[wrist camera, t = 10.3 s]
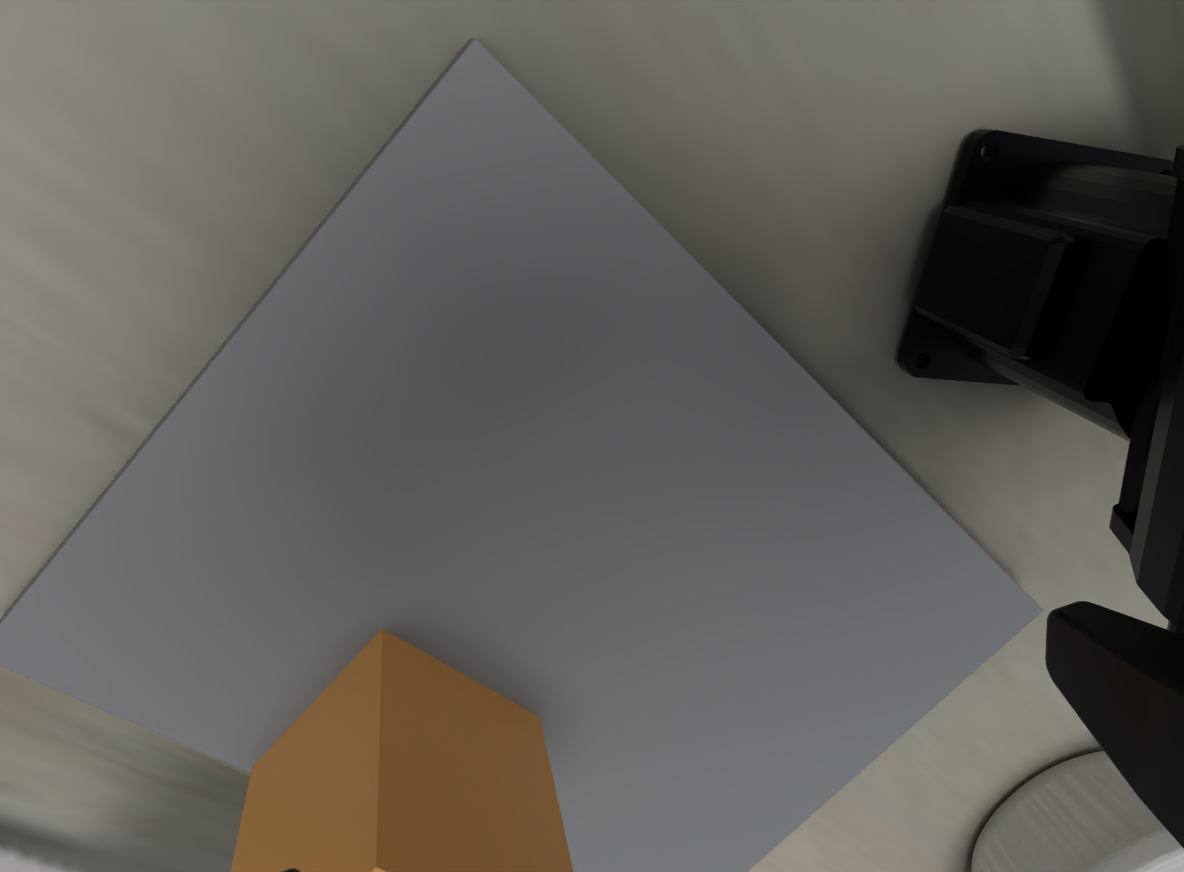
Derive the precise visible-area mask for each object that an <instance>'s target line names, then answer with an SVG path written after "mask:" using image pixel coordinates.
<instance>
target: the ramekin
mask: <svg viewBox="0 0 1184 872" xmlns="http://www.w3.org/2000/svg"><path fill="white" fill-rule="evenodd" d="M971 872H1184V848H1183V847H1182V846H1181V845H1180V844H1179V843H1178V842H1177V841H1176V839H1175V838H1174V837H1173V836H1172V835H1171V834H1170V833H1169V832H1168V830H1167V829H1166V828H1165V827H1164V826H1163V825H1162V824H1161V823H1160V821H1159V820H1158V819H1157V818H1156V817H1155V816H1154V815H1153V813H1152V812H1151V811H1150V810H1149V809H1148V808H1147V806H1146V805H1145V804H1144V803H1143V802H1142V800H1141V799H1140V798H1139V797H1138V796H1137V794H1136V793H1135V792H1134V791H1133V789H1132V788H1131V787H1130V785H1129V784H1128V783H1127V782H1126V780H1125V779H1124V778H1123V776H1122V775H1121V774H1120V772H1119V771H1118V769H1117V768H1116V767H1115V765H1114V764H1113V763H1112V761H1111V760H1110V759H1109V757H1108V756H1107V754H1106V753H1105V752H1104V751H1100V752H1094V753H1090V754H1086V755H1082V756H1078V757H1076V758H1073V759H1070V760H1067V761H1064V762H1062V763H1060V764H1057V765H1055V766H1053V767H1051V768H1049V769H1047V770H1045V771H1043V772H1042V773H1040V774H1038V775H1037V776H1035V777H1034V778H1032V779H1031V780H1029V781H1028V782H1026V783H1025V784H1024V785H1022V786H1021V787H1020V788H1018V789H1017V790H1016V791H1015V792H1014V793H1013V794H1011V795H1010V796H1009V797H1008V798H1007V799H1006V800H1005V801H1004V802H1003V803H1002V804H1001V805H1000V806H999V807H998V808H997V810H996V811H995V812H994V813H993V815H992V816H991V817H990V819H989V820H988V821H987V823H986V824H985V826H984V828H983V830H982V831H981V833H980V835H979V837H978V839H977V842H976V845H975V847H974V851H973V855H972V870H971Z"/></svg>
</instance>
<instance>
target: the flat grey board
mask: <svg viewBox="0 0 1184 872" xmlns="http://www.w3.org/2000/svg"><path fill="white" fill-rule="evenodd" d="M1042 611H1043V609H1042V608H1041V607H1040V606H1039V605H1038V604H1037V603H1036V602H1035V601H1034V600H1033V599H1032V598H1031V597H1030V596H1029V595H1028V594H1027V593H1026V592H1025V591H1024V590H1023V589H1022V588H1021V587H1020V586H1019V585H1018V584H1017V583H1016V582H1015V581H1014V580H1013V579H1012V578H1011V577H1010V576H1009V575H1008V574H1007V573H1006V572H1005V571H1004V570H1003V569H1002V568H1001V567H1000V566H999V565H998V564H997V563H996V562H995V561H994V560H993V559H992V558H991V557H990V556H989V555H988V554H987V553H986V552H985V551H984V550H983V549H982V548H981V547H980V546H979V545H978V544H977V543H976V542H975V541H974V540H973V539H972V538H971V537H970V536H969V535H968V534H967V533H966V532H965V531H964V530H963V529H962V528H961V527H960V526H959V525H958V524H957V523H956V522H955V521H954V520H953V519H952V518H951V517H950V516H949V515H948V514H947V513H946V512H945V511H944V510H943V509H942V508H941V507H940V506H939V505H938V504H937V503H936V502H935V501H934V500H933V499H932V498H931V497H930V496H929V495H928V494H927V492H926V491H925V490H924V489H923V488H922V487H921V486H920V485H919V484H918V483H917V482H916V481H915V480H914V479H913V478H912V477H911V476H910V475H909V474H908V473H907V472H906V471H905V470H904V469H903V468H902V467H901V466H900V465H899V464H898V463H897V462H896V461H895V460H894V459H893V458H892V457H891V456H890V455H889V454H888V453H887V452H886V451H885V450H884V449H883V448H882V447H881V446H880V445H879V444H878V443H877V442H876V441H875V440H874V439H873V438H872V437H871V436H870V435H869V434H868V433H867V432H866V431H865V430H864V429H863V428H862V427H861V426H860V425H859V424H858V423H857V422H856V421H855V420H854V419H853V418H852V417H851V416H850V415H849V414H848V413H847V412H846V411H845V410H844V409H843V408H842V407H841V406H840V405H839V404H838V403H837V402H836V401H835V400H834V399H833V398H832V397H831V396H830V395H829V394H828V393H827V392H826V391H825V390H824V389H823V388H822V387H821V386H820V385H819V384H818V383H817V382H816V381H815V380H814V379H813V378H812V377H811V375H810V374H809V373H808V372H807V371H806V370H805V369H804V368H803V367H802V366H801V365H800V364H799V363H798V362H797V361H796V360H795V359H794V358H793V357H792V356H791V355H790V354H789V353H788V352H787V351H786V350H785V349H784V348H783V347H782V346H781V345H780V344H779V343H778V342H777V341H776V340H775V339H774V338H773V337H772V336H771V335H770V334H769V333H768V332H767V331H766V330H765V329H764V328H763V327H762V326H761V325H760V324H759V323H758V322H757V321H756V320H755V319H754V318H753V317H752V316H751V315H750V314H749V313H748V312H747V311H746V310H745V309H744V308H743V307H742V306H741V305H740V304H739V303H738V302H737V301H736V300H735V299H734V298H733V297H732V296H731V295H730V294H729V293H728V292H727V291H726V290H725V289H724V288H723V287H722V286H721V285H720V284H719V283H718V282H717V281H716V280H715V279H714V278H713V277H712V276H711V275H710V274H709V273H708V272H707V271H706V270H705V269H704V268H703V267H702V266H701V265H700V264H699V263H698V262H697V261H696V260H695V259H694V257H693V256H692V255H691V254H690V253H689V252H688V251H687V250H686V249H685V248H684V247H683V246H682V245H681V244H680V243H679V242H678V241H677V240H676V239H675V238H674V237H673V236H672V235H671V234H670V233H669V232H668V231H667V230H666V229H665V228H664V227H663V226H662V225H661V224H660V223H659V222H658V221H657V220H656V219H655V218H654V217H653V216H652V215H651V214H650V213H649V212H648V211H647V210H646V209H645V208H644V207H643V206H642V205H641V204H640V203H639V202H638V201H637V200H636V199H635V198H634V197H633V196H632V195H631V194H630V193H629V192H628V191H627V190H626V189H625V188H624V187H623V186H622V185H621V184H620V183H619V182H618V181H617V180H616V179H615V178H614V177H613V176H612V175H611V174H610V173H609V172H608V171H607V170H606V169H605V168H604V167H603V166H602V165H601V164H600V163H599V162H598V161H597V160H596V159H595V158H594V157H593V156H592V155H591V154H590V153H589V152H588V151H587V150H586V149H585V148H584V147H583V146H582V145H581V144H580V143H579V142H578V140H577V139H576V138H575V137H574V136H573V135H572V134H571V133H570V132H569V131H568V130H567V129H566V128H565V127H564V126H563V125H562V124H561V123H560V122H559V121H558V120H557V119H556V118H555V117H554V116H553V115H552V114H551V113H550V112H549V111H548V110H547V109H546V108H545V107H544V106H543V105H542V104H541V103H540V102H539V101H538V100H537V99H536V98H535V97H534V96H533V95H532V94H531V93H530V92H529V91H528V90H527V89H526V88H525V87H524V86H523V85H522V84H521V83H520V82H519V81H518V80H517V79H516V78H515V77H514V76H513V75H512V74H511V73H510V72H509V71H508V70H507V69H506V68H505V67H504V66H503V65H502V64H501V63H500V62H499V61H498V60H497V59H496V58H495V57H494V56H493V55H492V54H491V53H490V52H489V51H488V50H487V49H486V48H485V47H484V46H483V45H482V44H481V43H480V42H479V41H478V40H477V39H476V38H473V39H470V40H469V41H468V42H467V43H466V44H465V46H464V47H463V48H462V49H461V51H460V52H459V53H458V54H457V56H456V57H455V58H454V59H453V61H452V62H451V63H450V64H449V65H448V67H447V68H446V69H445V70H444V72H443V73H442V74H441V75H440V77H439V78H438V79H437V80H436V82H435V83H434V84H433V85H432V86H431V88H430V89H429V90H428V91H427V93H426V94H425V95H424V96H423V98H422V99H421V100H420V101H419V103H418V104H417V105H416V106H415V107H414V109H413V110H412V111H411V112H410V114H409V115H408V116H407V117H406V119H405V120H404V121H403V122H402V124H401V125H400V126H399V127H398V128H397V130H396V131H395V132H394V133H393V135H392V136H391V137H390V138H389V140H388V141H387V142H386V143H385V145H384V146H383V147H382V148H381V149H380V151H379V152H378V153H377V154H376V156H375V157H374V158H373V159H372V161H371V162H370V163H369V164H368V166H367V167H366V168H365V169H364V170H363V172H362V173H361V174H360V175H359V177H358V178H357V179H356V180H355V182H354V183H353V184H352V185H351V187H350V188H349V189H348V190H347V191H346V193H345V194H344V195H343V196H342V198H341V199H340V200H339V201H338V203H337V204H336V205H335V206H334V208H333V209H332V210H331V211H330V212H329V214H328V215H327V216H326V217H325V219H324V220H323V221H322V222H321V224H320V225H319V226H318V227H317V229H316V230H315V231H314V232H313V233H312V235H311V236H310V237H309V238H308V240H307V241H306V242H305V243H304V245H303V246H302V247H301V248H300V250H299V251H298V252H297V253H296V255H295V256H294V257H293V258H292V259H291V261H290V262H289V263H288V264H287V266H286V267H285V268H284V269H283V271H282V272H281V273H280V274H279V276H278V277H277V278H276V279H275V280H274V282H273V283H272V284H271V285H270V287H269V288H268V289H267V290H266V292H265V293H264V294H263V295H262V297H261V298H260V299H259V300H258V301H257V303H256V304H255V305H254V306H253V308H252V309H251V310H250V311H249V313H248V314H247V315H246V316H245V318H244V319H243V320H242V321H241V322H240V324H239V325H238V326H237V327H236V329H235V330H234V331H233V332H232V334H231V335H230V336H229V337H228V339H227V340H226V341H225V342H224V343H223V345H222V346H221V347H220V348H219V350H218V351H217V352H216V353H215V355H214V356H213V357H212V358H211V360H210V361H209V362H208V363H207V364H206V366H205V367H204V368H203V369H202V371H201V372H200V373H199V374H198V376H197V377H196V378H195V379H194V381H193V382H192V383H191V384H190V385H189V387H188V388H187V389H186V390H185V392H184V393H183V394H182V395H181V397H180V398H179V399H178V400H177V402H176V403H175V404H174V405H173V406H172V408H171V409H170V410H169V411H168V413H167V414H166V415H165V416H164V418H163V419H162V420H161V421H160V423H159V424H158V425H157V426H156V427H155V429H154V430H153V431H152V432H151V434H150V435H149V436H148V437H147V439H146V440H145V441H144V442H143V444H142V445H141V446H140V447H139V448H138V450H137V451H136V452H135V453H134V455H133V456H132V457H131V458H130V460H129V461H128V462H127V463H126V465H125V466H124V467H123V468H122V469H121V471H120V472H119V473H118V474H117V476H116V477H115V478H114V479H113V481H112V482H111V483H110V484H109V486H108V487H107V488H106V489H105V490H104V492H103V493H102V494H101V495H100V497H99V498H98V499H97V500H96V502H95V503H94V504H93V505H92V507H91V508H90V509H89V510H88V511H87V513H86V514H85V515H84V516H83V518H82V519H81V520H80V521H79V523H78V524H77V525H76V526H75V528H74V529H73V530H72V531H71V532H70V534H69V535H68V536H67V537H66V539H65V540H64V541H63V542H62V544H61V545H60V546H59V547H58V549H57V550H56V551H55V552H54V553H53V555H52V556H51V557H50V558H49V560H48V561H47V562H46V563H45V565H44V566H43V567H42V568H41V570H40V571H39V572H38V573H37V574H36V576H35V577H34V578H33V579H32V581H31V582H30V583H29V584H28V586H27V587H26V588H25V589H24V591H23V592H22V593H21V594H20V595H19V597H18V598H17V599H16V600H15V602H14V603H13V604H12V605H11V607H10V608H9V609H8V610H7V612H6V613H5V614H4V615H3V617H2V618H1V619H0V666H1V667H3V668H6V669H8V670H11V671H13V672H15V673H18V674H20V675H22V676H25V677H27V678H29V679H32V680H34V681H36V682H39V683H41V684H43V685H46V686H48V687H50V688H53V689H55V690H57V691H60V692H62V693H64V694H67V695H69V696H71V697H74V698H76V699H79V700H81V701H83V702H86V703H88V704H90V705H93V706H95V707H97V708H100V709H102V710H104V711H107V712H109V713H111V714H114V715H116V716H118V717H121V718H123V719H125V720H128V721H130V722H132V723H135V724H137V725H140V726H142V727H144V728H147V729H149V730H151V731H154V732H156V733H158V734H161V735H163V736H165V737H168V738H170V739H172V740H175V741H177V742H179V743H182V744H184V745H186V746H189V747H191V748H193V749H196V750H198V751H200V752H203V753H205V754H208V755H210V756H212V757H215V758H217V759H219V760H222V761H224V762H226V763H229V764H231V765H233V766H236V767H238V768H240V769H243V770H245V771H247V772H250V773H251V770H252V767H253V766H254V765H255V764H256V763H257V762H258V761H259V760H260V758H261V757H262V756H263V755H264V754H265V753H266V752H267V751H268V750H269V749H270V748H271V747H272V746H273V745H274V744H275V742H276V741H277V740H278V739H279V738H280V737H281V736H282V735H283V734H284V733H285V732H286V731H287V730H288V729H289V727H290V726H291V725H292V724H293V723H294V722H295V721H296V720H297V719H298V718H299V717H300V716H301V715H302V714H303V712H304V711H305V710H306V709H307V708H308V707H309V706H310V705H311V704H312V703H313V702H314V701H315V700H316V699H317V698H318V696H319V695H320V694H321V693H322V692H323V691H324V690H325V689H326V688H327V687H328V686H329V685H330V684H331V683H332V681H333V680H334V679H335V678H336V677H337V676H338V675H339V674H340V673H341V672H342V671H343V670H344V669H345V668H346V666H347V665H348V664H349V663H350V662H351V661H352V660H353V659H354V658H355V657H356V656H357V655H358V654H359V653H360V651H361V650H362V649H363V648H364V647H365V646H366V645H367V644H368V643H369V642H370V641H371V640H372V639H373V638H374V637H375V635H376V634H377V633H378V632H379V631H380V630H381V629H384V630H386V631H387V632H389V633H391V634H393V635H395V636H396V637H398V638H400V639H402V640H404V641H405V642H407V643H409V644H411V645H412V646H414V647H416V648H418V649H420V650H421V651H423V652H425V653H427V654H429V655H430V656H432V657H434V658H436V659H437V660H439V661H441V662H443V663H445V664H446V665H448V666H450V667H452V668H454V669H455V670H457V671H459V672H461V673H462V674H464V675H466V676H468V677H470V678H471V679H473V680H475V681H477V682H479V683H480V684H482V685H484V686H486V687H487V688H489V689H491V690H493V691H495V692H496V693H498V694H500V695H502V696H504V697H505V698H507V699H509V700H511V701H512V702H514V703H516V704H518V705H520V706H521V707H523V708H525V709H527V710H529V711H530V712H532V713H534V714H536V715H537V716H539V717H540V720H541V725H542V729H543V734H544V739H545V743H546V748H547V752H548V757H549V761H550V766H551V771H552V775H553V780H554V784H555V789H556V793H557V798H558V803H559V807H560V812H561V816H562V821H563V826H564V830H565V835H566V839H567V844H568V848H569V853H570V858H571V862H572V867H573V871H574V872H748V871H749V870H750V869H751V868H752V867H753V866H754V865H756V864H757V863H758V862H759V861H760V860H761V859H762V858H763V857H765V856H766V855H767V854H768V853H769V852H770V851H771V850H773V849H774V848H775V847H776V846H777V845H778V844H779V843H780V842H782V841H783V840H784V839H785V838H786V837H787V836H788V835H790V834H791V833H792V832H793V831H794V830H795V829H796V828H797V827H799V826H800V825H801V824H802V823H803V822H804V821H805V820H807V819H808V818H809V817H810V816H811V815H812V814H813V813H814V812H816V811H817V810H818V809H819V808H820V807H821V806H822V805H824V804H825V803H826V802H827V801H828V800H829V799H830V798H831V797H833V796H834V795H835V794H836V793H837V792H838V791H839V790H841V789H842V788H843V787H844V786H845V785H846V784H847V783H848V782H850V781H851V780H852V779H853V778H854V777H855V776H856V775H858V774H859V773H860V772H861V771H862V770H863V769H864V768H865V767H867V766H868V765H869V764H870V763H871V762H872V761H873V760H875V759H876V758H877V757H878V756H879V755H880V754H881V753H882V752H884V751H885V750H886V749H887V748H888V747H889V746H890V745H891V744H893V743H894V742H895V741H896V740H897V739H898V738H899V737H901V736H902V735H903V734H904V733H905V732H906V731H907V730H908V729H910V728H911V727H912V726H913V725H914V724H915V723H916V722H918V721H919V720H920V719H921V718H922V717H923V716H924V715H925V714H927V713H928V712H929V711H930V710H931V709H932V708H933V707H935V706H936V705H937V704H938V703H939V702H940V701H941V700H942V699H944V698H945V697H946V696H947V695H948V694H949V693H950V692H952V691H953V690H954V689H955V688H956V687H957V686H958V685H959V684H961V683H962V682H963V681H964V680H965V679H966V678H967V677H969V676H970V675H971V674H972V673H973V672H974V671H975V670H976V669H978V668H979V667H980V666H981V665H982V664H983V663H984V662H986V661H987V660H988V659H989V658H990V657H991V656H992V655H993V654H995V653H996V652H997V651H998V650H999V649H1000V648H1001V647H1003V646H1004V645H1005V644H1006V643H1007V642H1008V641H1009V640H1010V639H1012V638H1013V637H1014V636H1015V635H1016V634H1017V633H1018V632H1019V631H1021V630H1022V629H1023V628H1024V627H1025V626H1026V625H1027V624H1029V623H1030V622H1031V621H1032V620H1033V619H1034V618H1035V617H1036V616H1038V615H1039V614H1040V613H1041V612H1042Z"/></svg>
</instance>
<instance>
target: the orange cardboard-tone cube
mask: <svg viewBox="0 0 1184 872" xmlns="http://www.w3.org/2000/svg"><path fill="white" fill-rule="evenodd" d="M290 868H295V869H298V870H299V871H300V872H574V871H573V867H572V862H571V858H570V853H569V848H568V844H567V839H566V835H565V830H564V826H563V821H562V816H561V812H560V807H559V803H558V798H557V793H556V789H555V784H554V780H553V775H552V771H551V766H550V761H549V757H548V752H547V748H546V743H545V739H544V734H543V729H542V725H541V720H540V717H539V716H537V715H536V714H534V713H532V712H530V711H529V710H527V709H525V708H523V707H521V706H520V705H518V704H516V703H514V702H512V701H511V700H509V699H507V698H505V697H504V696H502V695H500V694H498V693H496V692H495V691H493V690H491V689H489V688H487V687H486V686H484V685H482V684H480V683H479V682H477V681H475V680H473V679H471V678H470V677H468V676H466V675H464V674H462V673H461V672H459V671H457V670H455V669H454V668H452V667H450V666H448V665H446V664H445V663H443V662H441V661H439V660H437V659H436V658H434V657H432V656H430V655H429V654H427V653H425V652H423V651H421V650H420V649H418V648H416V647H414V646H412V645H411V644H409V643H407V642H405V641H404V640H402V639H400V638H398V637H396V636H395V635H393V634H391V633H389V632H387V631H386V630H384V629H381V630H380V631H379V632H378V633H377V634H376V635H375V637H374V638H373V639H372V640H371V641H370V642H369V643H368V644H367V645H366V646H365V647H364V648H363V649H362V650H361V651H360V653H359V654H358V655H357V656H356V657H355V658H354V659H353V660H352V661H351V662H350V663H349V664H348V665H347V666H346V668H345V669H344V670H343V671H342V672H341V673H340V674H339V675H338V676H337V677H336V678H335V679H334V680H333V681H332V683H331V684H330V685H329V686H328V687H327V688H326V689H325V690H324V691H323V692H322V693H321V694H320V695H319V696H318V698H317V699H316V700H315V701H314V702H313V703H312V704H311V705H310V706H309V707H308V708H307V709H306V710H305V711H304V712H303V714H302V715H301V716H300V717H299V718H298V719H297V720H296V721H295V722H294V723H293V724H292V725H291V726H290V727H289V729H288V730H287V731H286V732H285V733H284V734H283V735H282V736H281V737H280V738H279V739H278V740H277V741H276V742H275V744H274V745H273V746H272V747H271V748H270V749H269V750H268V751H267V752H266V753H265V754H264V755H263V756H262V757H261V758H260V760H259V761H258V762H257V763H256V764H255V765H254V766H253V767H252V770H251V775H250V780H249V785H248V790H247V794H246V799H245V804H244V809H243V814H242V819H241V824H240V829H239V834H238V839H237V844H236V848H235V853H234V858H233V863H232V868H231V872H281V871H284V870H287V869H290Z"/></svg>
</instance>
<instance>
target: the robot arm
mask: <svg viewBox="0 0 1184 872" xmlns="http://www.w3.org/2000/svg"><path fill="white" fill-rule="evenodd" d="M986 143H988V144H989V152H988V153H987V155H986V157H985V158H983V159H982V157H981V151H982V148H983V147H984V145H985V144H986ZM921 352H922V357H921V359H920V361H918V362H917V363H916V364H914V359H915V358H916V356H917V355H918V354H919V353H921ZM898 363H899V367H900V368H901V369H902V370H903V371H905V372H906V373H908V374H910V375H911V376H914V377H919V378H932V379H945V380H958V381H971V382H984V383H997V384H1010V385H1022V386H1024V387H1026V388H1028V389H1030V390H1031V391H1033V392H1035V393H1037V394H1039V395H1041V396H1043V397H1045V398H1047V399H1049V400H1051V401H1053V402H1055V403H1056V404H1058V405H1060V406H1062V407H1064V408H1066V409H1068V410H1070V411H1072V412H1074V413H1076V414H1078V415H1079V416H1081V417H1083V418H1085V419H1087V420H1089V421H1091V422H1093V423H1095V424H1097V425H1099V426H1101V427H1103V428H1104V429H1106V430H1108V431H1110V432H1112V433H1114V434H1116V435H1118V436H1120V437H1122V438H1124V439H1126V440H1128V441H1129V442H1130V444H1129V449H1128V455H1127V460H1126V466H1125V471H1124V477H1123V482H1122V488H1121V493H1120V499H1119V504H1116V505H1114V506H1113V509H1112V515H1111V520H1110V526H1109V527H1110V529H1111V530H1112V532H1113V533H1114V534H1115V536H1116V537H1117V538H1118V540H1119V541H1120V542H1121V544H1122V545H1123V546H1124V548H1125V549H1126V550H1127V551H1128V553H1129V554H1130V555H1129V557H1130V560H1131V564H1132V568H1133V572H1134V576H1135V579H1136V583H1137V585H1138V586H1139V587H1140V589H1141V590H1142V591H1143V592H1144V593H1145V595H1146V596H1147V597H1148V598H1149V599H1150V601H1151V602H1152V603H1153V604H1154V605H1155V607H1156V608H1157V609H1158V610H1159V611H1160V612H1161V614H1162V615H1163V616H1164V617H1165V618H1167V619H1168V620H1169V623H1168V627H1167V630H1166V629H1164V628H1161V627H1158V626H1155V625H1152V624H1150V623H1147V622H1144V621H1141V620H1138V619H1136V618H1133V617H1130V616H1127V615H1124V614H1122V613H1119V612H1116V611H1113V610H1110V609H1108V608H1105V607H1102V606H1099V605H1096V604H1094V603H1090V602H1085V601H1079V602H1075V603H1072V604H1069V605H1066V606H1063V607H1060V608H1057V609H1054V610H1053V611H1051V612H1050V614H1049V616H1048V618H1047V633H1046V657H1045V660H1046V666H1047V670H1048V672H1049V675H1050V677H1051V679H1052V680H1053V682H1054V683H1055V685H1056V686H1057V688H1058V689H1059V690H1060V692H1061V693H1062V694H1063V696H1064V697H1065V698H1066V700H1067V701H1068V703H1069V704H1070V705H1071V707H1072V708H1073V709H1074V711H1075V712H1076V713H1077V715H1078V716H1079V718H1080V719H1081V720H1082V722H1083V723H1084V724H1085V726H1086V727H1087V728H1088V730H1089V731H1090V733H1091V734H1092V735H1093V737H1094V738H1095V739H1096V741H1097V742H1098V744H1099V745H1100V746H1101V748H1102V749H1103V750H1104V752H1105V753H1106V754H1107V756H1108V757H1109V759H1110V760H1111V761H1112V763H1113V764H1114V765H1115V767H1116V768H1117V769H1118V771H1119V772H1120V774H1121V775H1122V776H1123V778H1124V779H1125V780H1126V782H1127V783H1128V784H1129V785H1130V787H1131V788H1132V789H1133V791H1134V792H1135V793H1136V794H1137V796H1138V797H1139V798H1140V799H1141V800H1142V802H1143V803H1144V804H1145V805H1146V806H1147V808H1148V809H1149V810H1150V811H1151V812H1152V813H1153V815H1154V816H1155V817H1156V818H1157V819H1158V820H1159V821H1160V823H1161V824H1162V825H1163V826H1164V827H1165V828H1166V829H1167V830H1168V832H1169V833H1170V834H1171V835H1172V836H1173V837H1174V838H1175V839H1176V841H1177V842H1178V843H1179V844H1180V845H1181V846H1182V847H1183V848H1184V145H1180V146H1177V148H1176V154H1175V159H1174V162H1173V161H1171V160H1165V159H1160V158H1154V157H1148V156H1142V155H1136V154H1131V153H1125V152H1119V151H1113V150H1108V149H1102V148H1096V147H1090V146H1085V145H1079V144H1073V143H1067V142H1062V141H1056V140H1050V139H1044V138H1038V137H1033V136H1027V135H1021V134H1015V133H1010V132H1004V131H998V130H990V129H981V130H978V131H976V132H974V133H973V134H972V135H971V136H970V137H969V138H968V139H967V141H966V143H965V145H964V147H963V150H962V153H961V156H960V160H959V163H958V166H957V169H956V172H955V176H954V179H953V182H952V185H951V188H950V192H949V195H948V198H947V201H946V204H945V208H944V211H943V213H942V214H941V217H940V220H939V223H938V226H937V230H936V233H935V236H934V239H933V243H932V246H931V249H930V252H929V255H928V259H927V262H926V265H925V268H924V271H923V275H922V278H921V281H920V284H919V287H918V291H917V294H916V297H915V300H914V307H913V310H912V313H911V317H910V320H909V323H908V326H907V329H906V333H905V336H904V339H903V342H902V345H901V349H900V352H899V356H898ZM281 872H300V871H299V870H298V869H295V868H290V869H287V870H284V871H281Z"/></svg>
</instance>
